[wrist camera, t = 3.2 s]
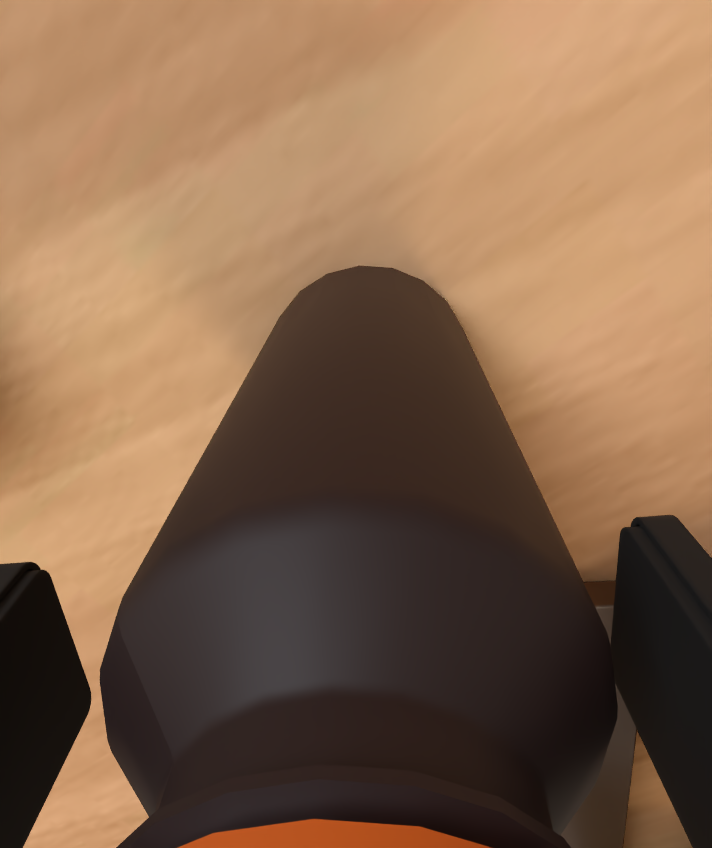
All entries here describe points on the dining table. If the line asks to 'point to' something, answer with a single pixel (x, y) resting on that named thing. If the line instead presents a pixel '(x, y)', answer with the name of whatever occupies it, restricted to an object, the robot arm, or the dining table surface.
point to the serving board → (607, 762)
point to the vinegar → (360, 607)
